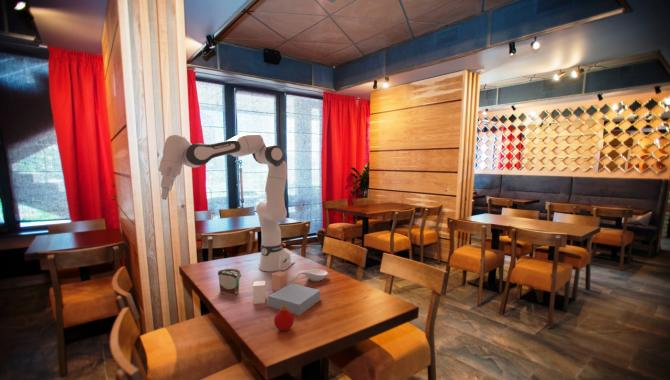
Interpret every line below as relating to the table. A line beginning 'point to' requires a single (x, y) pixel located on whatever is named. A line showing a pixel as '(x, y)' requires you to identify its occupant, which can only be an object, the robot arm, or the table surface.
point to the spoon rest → (309, 275)
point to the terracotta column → (279, 280)
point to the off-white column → (259, 292)
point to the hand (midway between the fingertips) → (163, 198)
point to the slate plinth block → (294, 298)
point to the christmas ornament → (283, 319)
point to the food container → (229, 281)
